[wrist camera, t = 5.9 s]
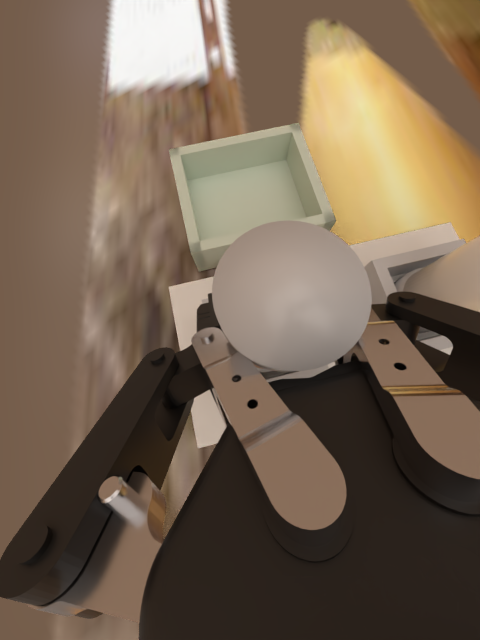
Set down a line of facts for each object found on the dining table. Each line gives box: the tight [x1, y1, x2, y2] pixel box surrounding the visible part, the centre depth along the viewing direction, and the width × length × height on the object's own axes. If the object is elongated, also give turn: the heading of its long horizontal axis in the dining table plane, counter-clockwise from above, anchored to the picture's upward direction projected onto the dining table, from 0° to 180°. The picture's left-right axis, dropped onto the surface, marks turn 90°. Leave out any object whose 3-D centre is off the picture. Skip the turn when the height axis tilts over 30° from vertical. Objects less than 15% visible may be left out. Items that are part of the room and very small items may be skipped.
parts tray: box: [169, 123, 336, 272], centre depth 19 cm, size 11×10×3 cm
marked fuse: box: [212, 220, 372, 372], centre depth 12 cm, size 4×4×11 cm
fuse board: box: [169, 222, 466, 448], centre depth 17 cm, size 24×12×4 cm, turn 104°
